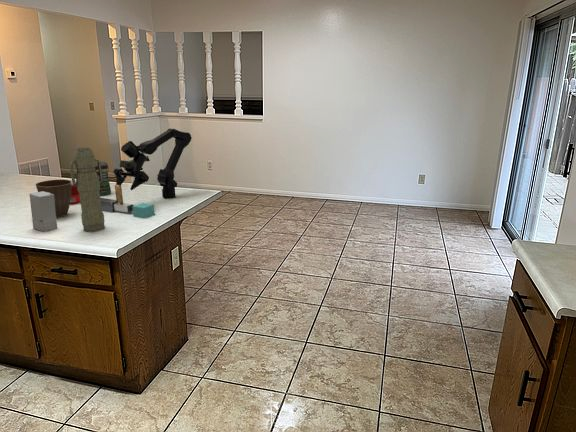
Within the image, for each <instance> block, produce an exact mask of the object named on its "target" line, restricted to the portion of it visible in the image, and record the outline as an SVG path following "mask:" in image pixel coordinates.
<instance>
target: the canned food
mask: <svg viewBox="0 0 576 432" xmlns="http://www.w3.org/2000/svg"><path fill="white" fill-rule="evenodd" d="M70 181H71V199H70V205H69V206H71V205H73V206H74V205H78V204H81V202H80V195H79V192H78V190H77V186H73V183H72V180H70ZM75 183H76V180H75Z"/></svg>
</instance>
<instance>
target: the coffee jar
mask: <svg viewBox="0 0 576 432" xmlns="http://www.w3.org/2000/svg"><path fill="white" fill-rule="evenodd" d="M100 162H101V169H102V177H103V181H102V182H101V183H100V190H99V193H100V197H101V196H108V195H111V194H112V188H111V186H110V180H109V179H110V178H109V165H108V163H107V162H106V161H100ZM95 165H96V167H95V169H96V173H97V175H98V177H99V171H98V163H97V162H95ZM99 180H100V179H99Z"/></svg>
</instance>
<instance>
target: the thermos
mask: <svg viewBox="0 0 576 432" xmlns="http://www.w3.org/2000/svg"><path fill="white" fill-rule="evenodd" d="M101 162H102V161H100V160H99V159H98V158H95V154H94V152H93V150H92V148H89V147H80V148H77V149H75V152H74V159H73V160H70V163H69V169H70V177H71V181H72V183H73V186H77V190H78V192H79V195H80V202H81V203H80V207H81V213H80V216H81V224H82V227H83V228H82V230H83V231H84V232H87V233H88V232H89V233H90V232H92V233H94V232H99V231H103V230H105V228H106V225H105V222H106V221H105V215H104V211H102V209H101V201H100V198H101V196H100V193H99V190H100V183H101V182H102V181H103V177H102V169H101ZM95 163H98V171H99V177H98V175H97V173H96V169H95V167H96V165H95ZM74 165H75V168H76V176H75V172H74V171H75V170H74ZM99 179H100V180H99ZM75 181H76V183H75Z"/></svg>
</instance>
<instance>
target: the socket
mask: <svg viewBox="0 0 576 432" xmlns="http://www.w3.org/2000/svg"><path fill="white" fill-rule="evenodd" d="M132 208H133V212H132V216H133V217H134V218H139V219H147V218H149V217H152V216H153V215H155V213H156V212H155V204H154V203H147V202H146V203H145V202H141V203H137V204H136V205H135V204H134V206H132Z"/></svg>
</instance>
